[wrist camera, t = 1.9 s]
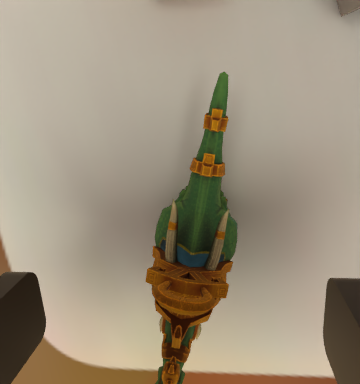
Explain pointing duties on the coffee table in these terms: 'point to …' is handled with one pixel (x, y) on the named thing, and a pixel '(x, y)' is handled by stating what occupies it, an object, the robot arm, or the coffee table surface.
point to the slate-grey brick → (348, 6)
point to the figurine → (194, 247)
